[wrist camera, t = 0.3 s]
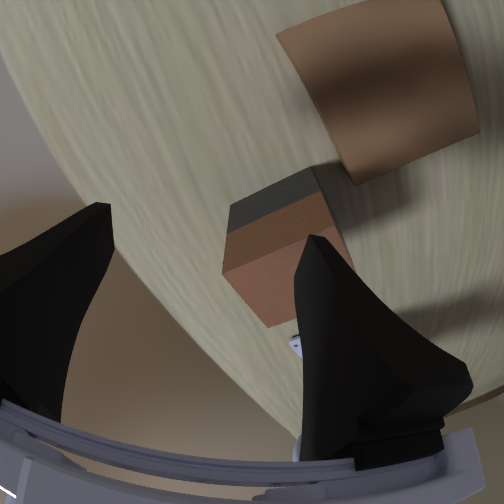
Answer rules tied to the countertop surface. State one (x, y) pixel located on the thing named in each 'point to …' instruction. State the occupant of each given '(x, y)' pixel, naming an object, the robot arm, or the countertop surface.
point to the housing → (276, 243)
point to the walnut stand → (384, 82)
